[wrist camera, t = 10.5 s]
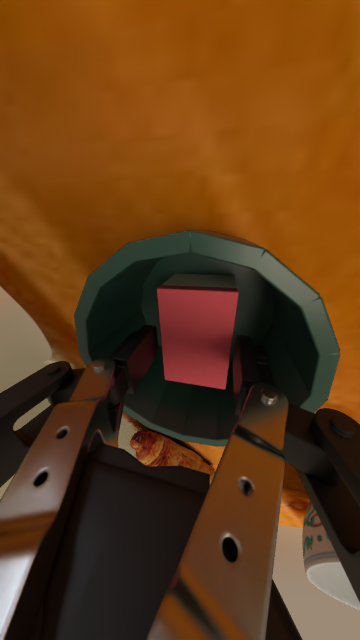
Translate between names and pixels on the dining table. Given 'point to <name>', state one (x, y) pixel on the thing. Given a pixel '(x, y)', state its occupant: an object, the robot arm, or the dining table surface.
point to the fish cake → (197, 327)
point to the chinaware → (324, 561)
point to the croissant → (166, 453)
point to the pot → (251, 320)
